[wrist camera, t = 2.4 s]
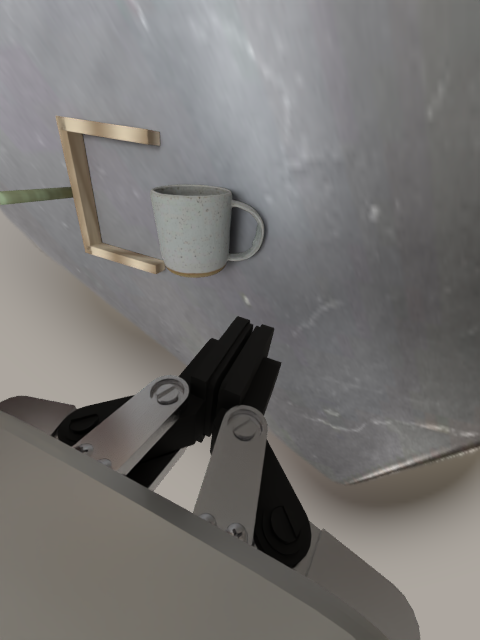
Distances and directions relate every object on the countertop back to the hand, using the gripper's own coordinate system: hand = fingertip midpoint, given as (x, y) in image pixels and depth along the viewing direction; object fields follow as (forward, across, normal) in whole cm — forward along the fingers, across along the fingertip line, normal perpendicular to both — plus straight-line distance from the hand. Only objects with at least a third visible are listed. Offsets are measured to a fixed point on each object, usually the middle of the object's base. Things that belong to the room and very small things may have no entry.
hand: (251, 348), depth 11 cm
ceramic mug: (+19, +10, 0) cm, 22 cm away
